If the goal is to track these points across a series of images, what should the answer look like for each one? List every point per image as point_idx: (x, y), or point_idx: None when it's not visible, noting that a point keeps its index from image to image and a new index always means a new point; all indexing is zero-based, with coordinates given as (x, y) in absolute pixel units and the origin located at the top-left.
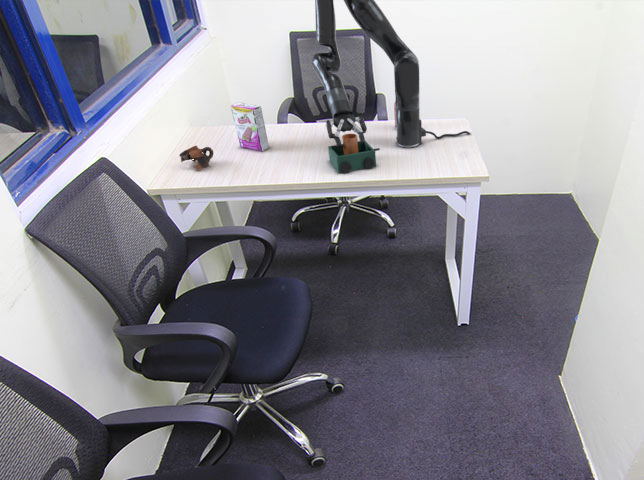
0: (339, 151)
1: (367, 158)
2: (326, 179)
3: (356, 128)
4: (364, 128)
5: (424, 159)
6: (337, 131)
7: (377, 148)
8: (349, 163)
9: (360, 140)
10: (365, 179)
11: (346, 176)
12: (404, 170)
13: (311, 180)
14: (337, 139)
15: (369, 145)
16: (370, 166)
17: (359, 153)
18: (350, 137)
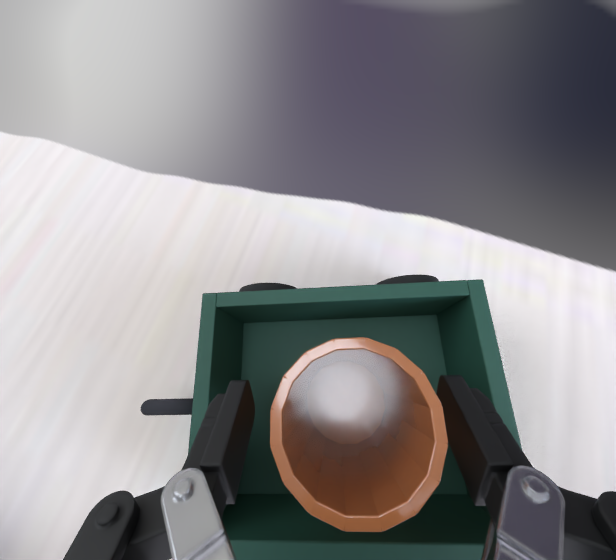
0: (420, 515)
1: (272, 288)
2: (511, 259)
3: (223, 535)
4: (117, 520)
5: (5, 309)
6: (536, 546)
7: (154, 405)
8: (387, 279)
9: (245, 437)
10: (331, 202)
11: (407, 258)
12: (146, 230)
13: (594, 273)
14: (499, 445)
15: (196, 407)
16: None
17: (314, 288)
18: (331, 489)
